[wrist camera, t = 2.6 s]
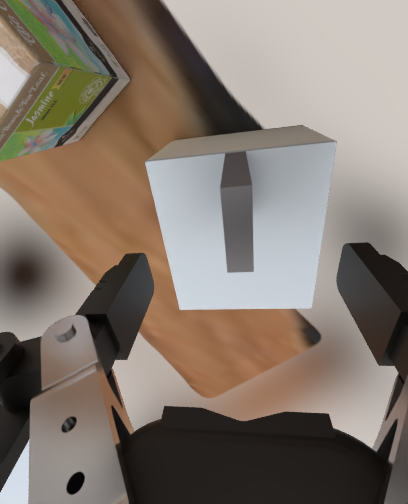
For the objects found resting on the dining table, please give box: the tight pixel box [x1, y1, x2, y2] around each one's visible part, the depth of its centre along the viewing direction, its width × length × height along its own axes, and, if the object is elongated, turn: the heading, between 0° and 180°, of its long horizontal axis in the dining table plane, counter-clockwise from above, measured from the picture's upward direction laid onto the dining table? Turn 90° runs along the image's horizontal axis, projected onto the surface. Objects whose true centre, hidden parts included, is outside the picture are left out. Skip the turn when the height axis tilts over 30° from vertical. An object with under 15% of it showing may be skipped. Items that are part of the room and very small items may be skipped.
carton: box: [148, 125, 332, 160], centre depth 27 cm, size 16×14×10 cm
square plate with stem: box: [145, 140, 337, 310], centre depth 19 cm, size 16×14×9 cm
